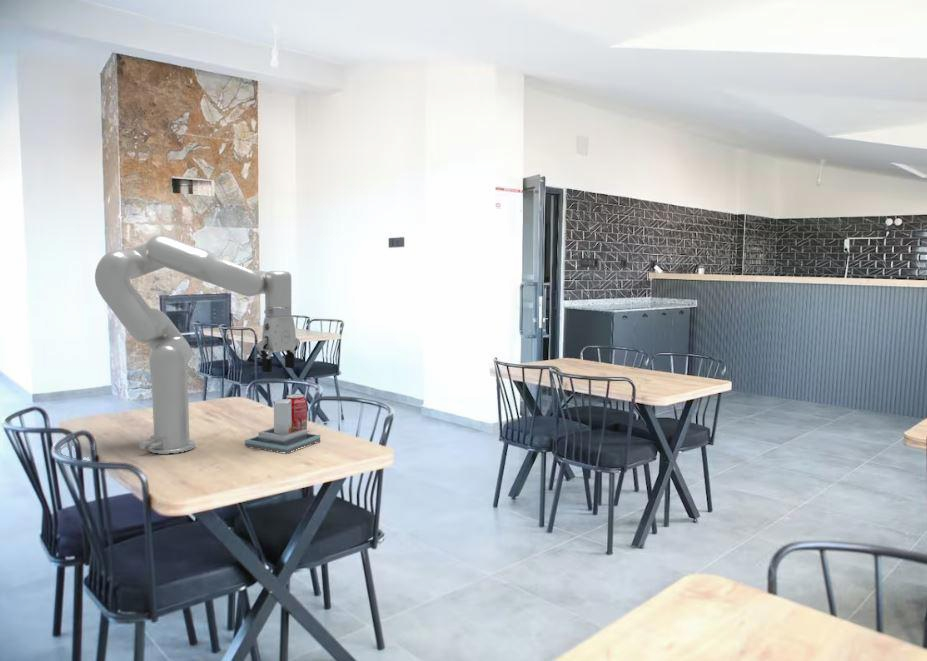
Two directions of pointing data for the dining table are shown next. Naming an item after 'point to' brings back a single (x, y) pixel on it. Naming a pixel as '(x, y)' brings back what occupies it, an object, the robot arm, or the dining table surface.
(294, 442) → the tray
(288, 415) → the skincare box
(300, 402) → the soda can
